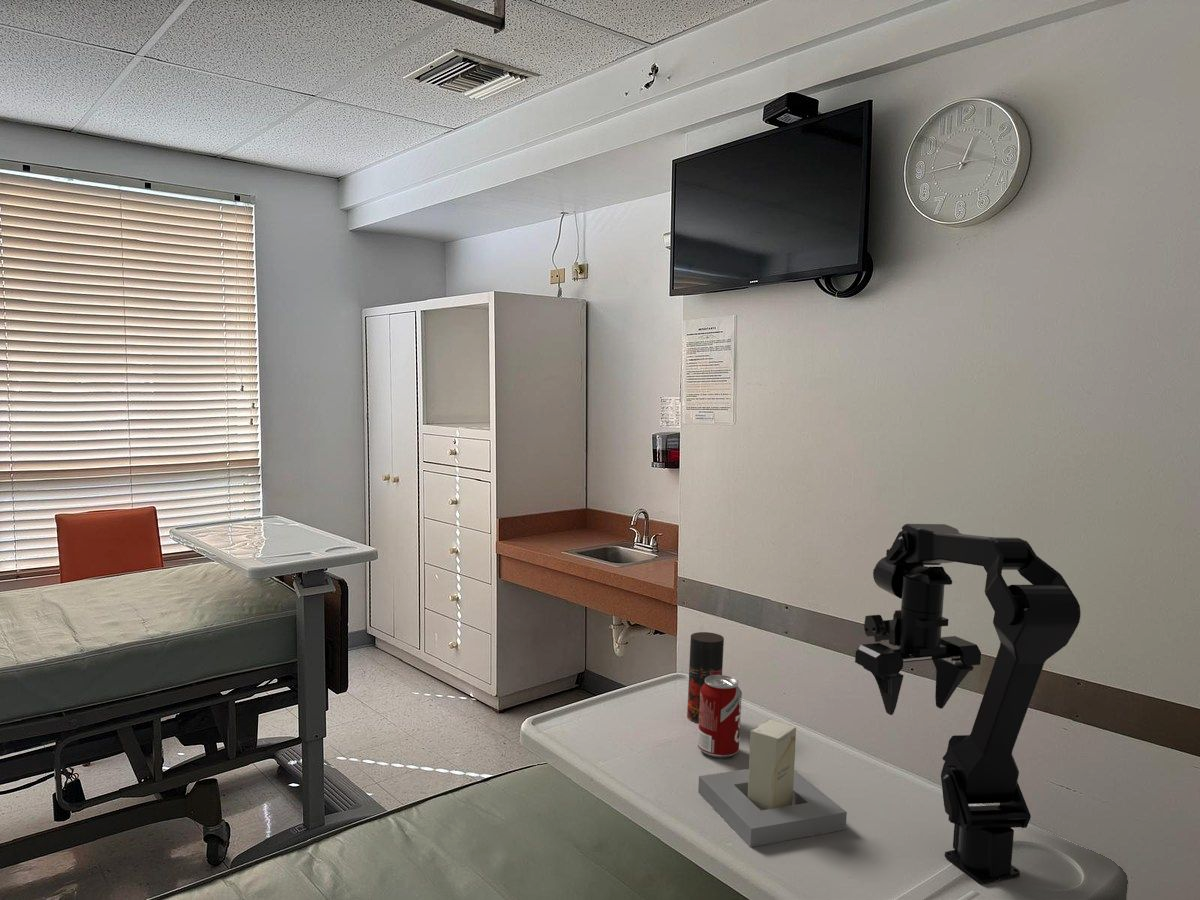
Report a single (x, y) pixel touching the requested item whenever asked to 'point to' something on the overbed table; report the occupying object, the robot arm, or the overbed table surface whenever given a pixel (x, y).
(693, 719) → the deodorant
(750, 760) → the skincare box
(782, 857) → the overbed table surface
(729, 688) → the soda can
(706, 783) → the socket holder
